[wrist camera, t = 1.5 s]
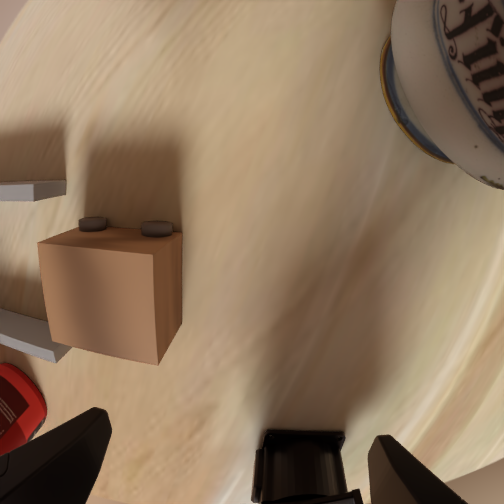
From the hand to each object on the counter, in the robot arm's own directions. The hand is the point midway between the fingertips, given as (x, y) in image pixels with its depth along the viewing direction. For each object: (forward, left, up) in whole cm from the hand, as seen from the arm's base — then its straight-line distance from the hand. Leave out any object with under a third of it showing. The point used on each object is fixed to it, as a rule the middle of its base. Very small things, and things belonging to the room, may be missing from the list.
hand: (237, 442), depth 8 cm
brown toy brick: (+8, 0, -12) cm, 15 cm away
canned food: (+23, +15, -12) cm, 30 cm away
